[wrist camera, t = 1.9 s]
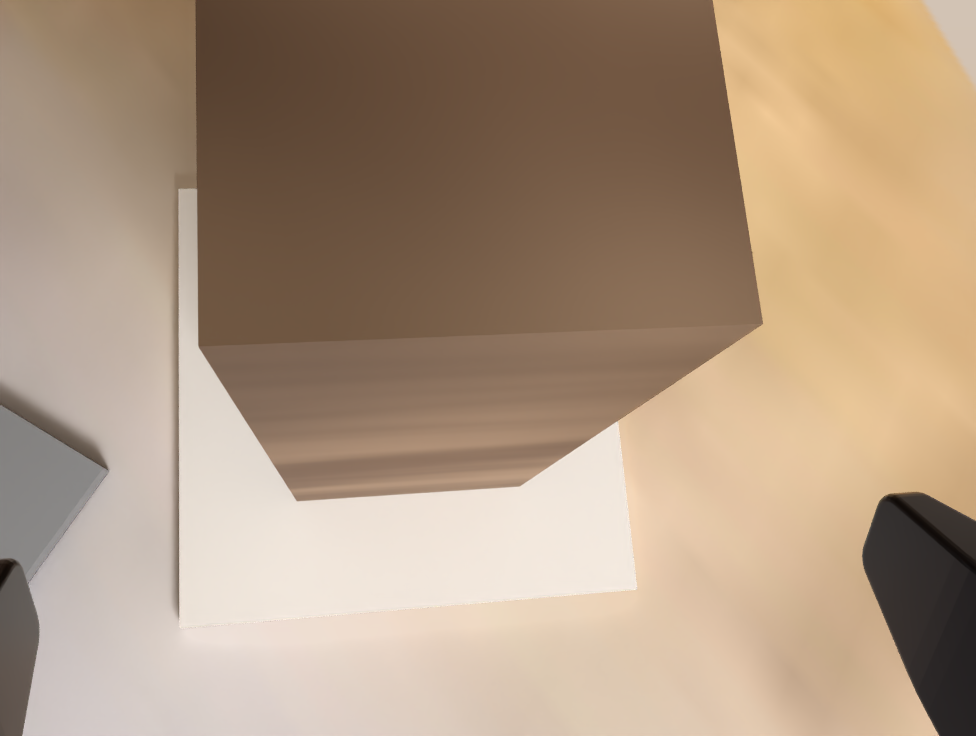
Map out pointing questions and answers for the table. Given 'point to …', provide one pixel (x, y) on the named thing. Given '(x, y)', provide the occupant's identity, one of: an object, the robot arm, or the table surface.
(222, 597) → the tile
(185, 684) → the table surface
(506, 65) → the walnut post
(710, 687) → the table surface
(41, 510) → the grey pad
